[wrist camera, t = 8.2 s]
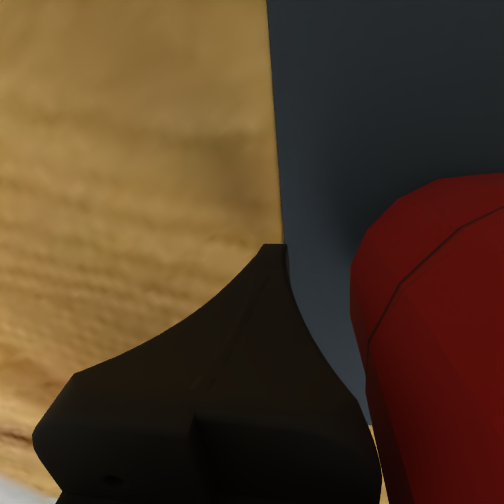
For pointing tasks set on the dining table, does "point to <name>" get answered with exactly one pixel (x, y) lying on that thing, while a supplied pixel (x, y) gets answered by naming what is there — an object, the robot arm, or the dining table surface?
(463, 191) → the plastic cup
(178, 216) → the dining table surface
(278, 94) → the mat
